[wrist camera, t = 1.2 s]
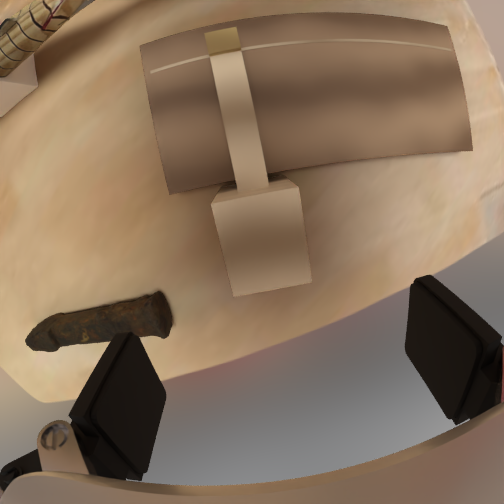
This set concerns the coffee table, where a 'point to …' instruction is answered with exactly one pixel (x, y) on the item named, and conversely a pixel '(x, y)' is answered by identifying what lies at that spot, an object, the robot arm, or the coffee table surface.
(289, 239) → the beige block with stick
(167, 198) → the coffee table surface
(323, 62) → the board
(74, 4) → the wood carving
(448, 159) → the coffee table surface
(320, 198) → the coffee table surface
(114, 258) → the coffee table surface
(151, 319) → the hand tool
